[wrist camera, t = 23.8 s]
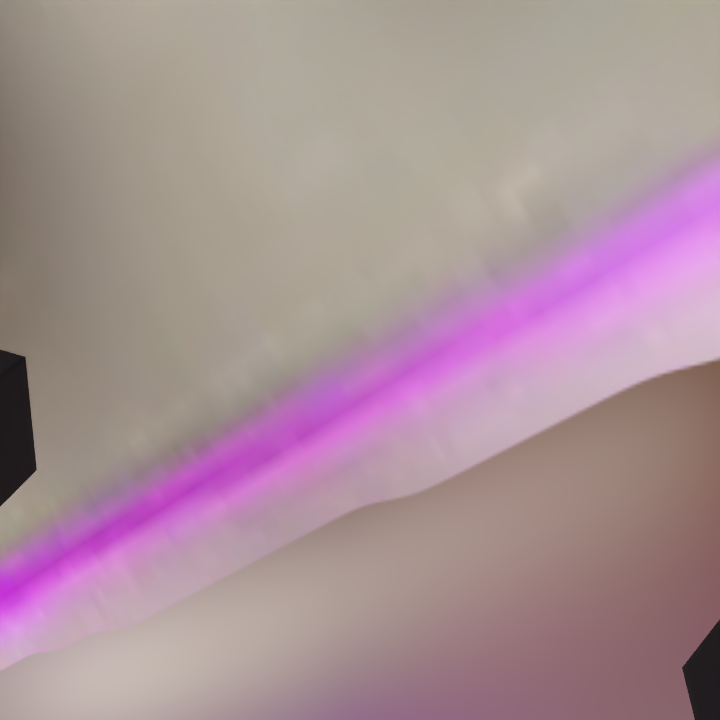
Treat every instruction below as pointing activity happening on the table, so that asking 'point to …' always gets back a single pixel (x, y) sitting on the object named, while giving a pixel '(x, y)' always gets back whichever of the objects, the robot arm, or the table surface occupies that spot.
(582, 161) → the table surface
